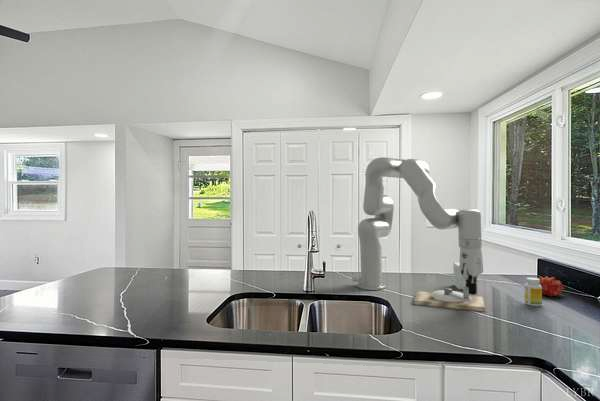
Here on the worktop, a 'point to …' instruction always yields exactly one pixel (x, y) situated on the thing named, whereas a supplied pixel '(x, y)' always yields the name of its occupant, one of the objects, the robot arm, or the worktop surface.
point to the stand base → (427, 299)
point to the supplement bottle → (533, 292)
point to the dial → (451, 295)
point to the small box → (458, 277)
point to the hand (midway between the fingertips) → (471, 293)
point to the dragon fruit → (550, 286)
